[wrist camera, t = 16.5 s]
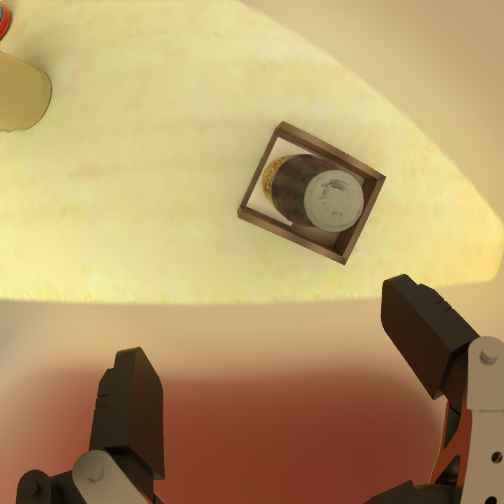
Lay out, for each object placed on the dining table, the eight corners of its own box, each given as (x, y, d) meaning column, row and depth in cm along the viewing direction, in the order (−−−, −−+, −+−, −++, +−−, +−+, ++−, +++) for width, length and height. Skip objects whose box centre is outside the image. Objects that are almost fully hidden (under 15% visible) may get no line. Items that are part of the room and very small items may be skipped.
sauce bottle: (283, 146, 37) (336, 121, 18) (321, 180, 39) (402, 190, 19) (247, 187, 38) (266, 200, 19) (287, 220, 40) (340, 265, 20)
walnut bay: (237, 212, 40) (238, 217, 35) (276, 127, 38) (282, 121, 33) (332, 255, 42) (344, 265, 37) (369, 175, 40) (386, 176, 35)
